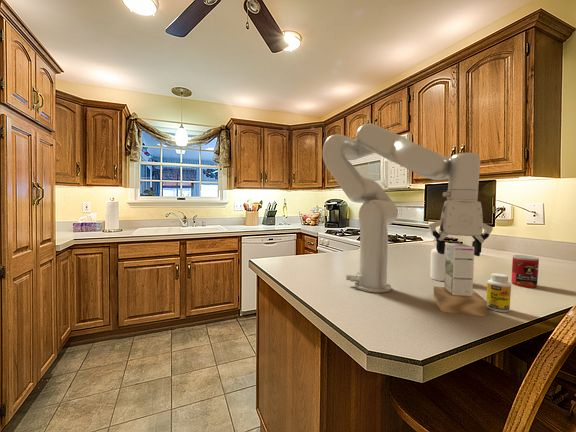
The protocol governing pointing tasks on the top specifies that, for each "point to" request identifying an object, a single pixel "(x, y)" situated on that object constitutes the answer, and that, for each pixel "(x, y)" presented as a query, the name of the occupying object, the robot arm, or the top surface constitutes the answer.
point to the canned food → (525, 271)
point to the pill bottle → (438, 264)
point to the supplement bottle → (498, 293)
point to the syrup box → (459, 269)
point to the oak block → (459, 302)
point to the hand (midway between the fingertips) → (458, 254)
